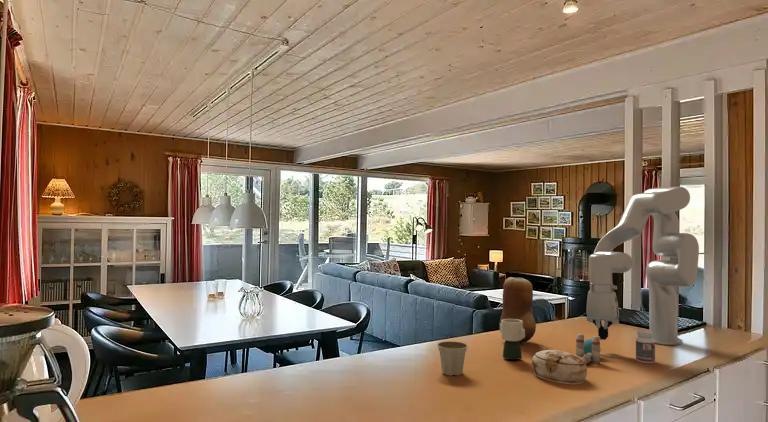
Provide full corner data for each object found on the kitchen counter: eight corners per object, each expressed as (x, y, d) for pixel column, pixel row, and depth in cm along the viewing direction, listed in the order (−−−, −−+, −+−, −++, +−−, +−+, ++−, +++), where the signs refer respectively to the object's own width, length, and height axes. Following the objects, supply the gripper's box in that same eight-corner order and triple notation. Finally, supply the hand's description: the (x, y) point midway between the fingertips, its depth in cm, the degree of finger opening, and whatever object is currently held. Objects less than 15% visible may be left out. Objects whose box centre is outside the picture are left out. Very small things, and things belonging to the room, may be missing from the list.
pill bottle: (657, 364, 160) (657, 333, 160) (638, 363, 161) (638, 333, 161) (651, 359, 165) (651, 330, 165) (633, 358, 166) (633, 329, 167)
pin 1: (577, 358, 166) (577, 333, 166) (585, 360, 165) (585, 334, 165) (575, 360, 164) (575, 334, 164) (582, 361, 163) (582, 336, 163)
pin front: (585, 352, 165) (578, 357, 159) (593, 353, 164) (586, 358, 157) (586, 359, 165) (578, 365, 159) (594, 360, 164) (586, 366, 157)
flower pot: (470, 370, 153) (470, 342, 153) (465, 379, 144) (465, 349, 145) (440, 367, 156) (440, 340, 156) (434, 375, 147) (434, 347, 148)
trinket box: (529, 370, 154) (529, 345, 154) (579, 372, 152) (579, 346, 152) (536, 384, 140) (536, 356, 141) (591, 386, 138) (591, 358, 139)
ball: (577, 348, 168) (583, 360, 170) (594, 349, 164) (601, 361, 166) (580, 335, 171) (587, 347, 174) (597, 335, 167) (604, 347, 170)
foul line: (577, 351, 176) (577, 350, 176) (619, 357, 168) (619, 357, 168) (576, 351, 175) (576, 351, 175) (618, 358, 167) (618, 357, 167)
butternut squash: (543, 343, 187) (543, 278, 187) (520, 348, 179) (519, 280, 180) (514, 336, 198) (514, 275, 199) (491, 341, 191) (491, 277, 191)
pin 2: (593, 361, 163) (592, 335, 163) (601, 362, 161) (600, 336, 162) (590, 363, 161) (590, 337, 161) (598, 364, 160) (598, 338, 160)
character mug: (532, 361, 163) (531, 322, 163) (517, 364, 159) (516, 324, 160) (507, 353, 172) (507, 316, 173) (493, 356, 168) (492, 319, 169)
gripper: (626, 287, 174) (628, 339, 174) (582, 285, 184) (585, 334, 184) (621, 291, 169) (623, 344, 168) (576, 288, 178) (578, 338, 178)
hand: (603, 338), depth 176 cm, fingers closed
